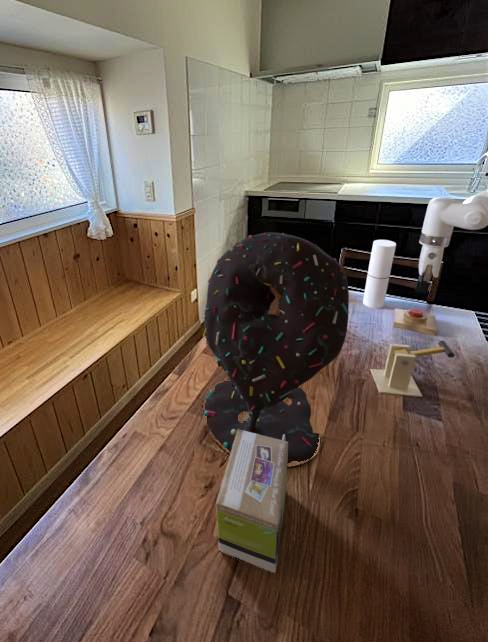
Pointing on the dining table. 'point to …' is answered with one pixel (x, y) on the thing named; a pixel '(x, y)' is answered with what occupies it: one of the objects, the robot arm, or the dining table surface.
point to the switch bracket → (397, 373)
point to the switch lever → (429, 350)
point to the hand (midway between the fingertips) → (420, 291)
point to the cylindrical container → (379, 273)
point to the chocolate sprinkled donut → (272, 336)
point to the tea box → (253, 499)
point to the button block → (414, 322)
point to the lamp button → (416, 312)
